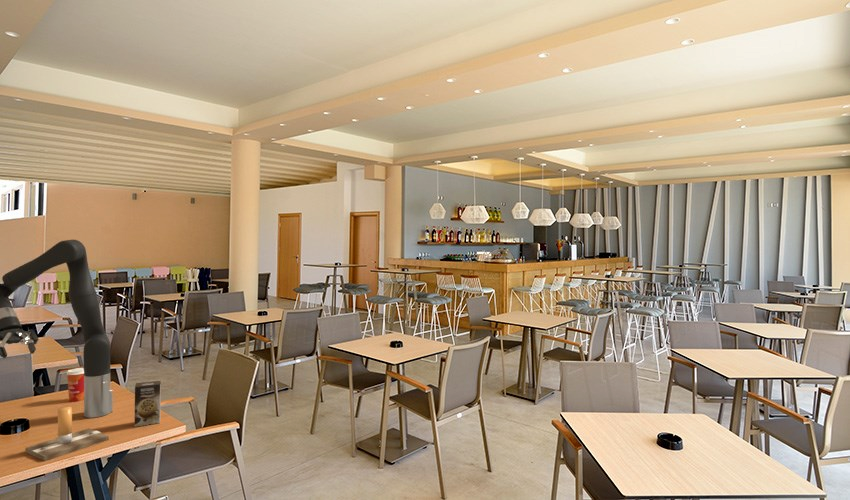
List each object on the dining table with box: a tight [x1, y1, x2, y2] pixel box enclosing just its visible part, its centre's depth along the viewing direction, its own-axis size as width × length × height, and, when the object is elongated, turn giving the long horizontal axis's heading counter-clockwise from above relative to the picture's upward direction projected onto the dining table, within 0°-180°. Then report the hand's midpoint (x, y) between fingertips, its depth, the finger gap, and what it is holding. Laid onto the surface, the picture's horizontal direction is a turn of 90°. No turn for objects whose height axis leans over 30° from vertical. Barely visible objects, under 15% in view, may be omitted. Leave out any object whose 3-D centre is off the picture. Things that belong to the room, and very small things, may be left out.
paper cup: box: [66, 367, 84, 403], centre depth 220 cm, size 8×8×14 cm
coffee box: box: [133, 380, 162, 428], centre depth 192 cm, size 9×6×16 cm
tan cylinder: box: [57, 406, 73, 444], centre depth 169 cm, size 4×4×12 cm
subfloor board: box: [24, 427, 109, 462], centre depth 170 cm, size 20×14×2 cm
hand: (19, 354), depth 180 cm, fingers open, 8 cm apart
